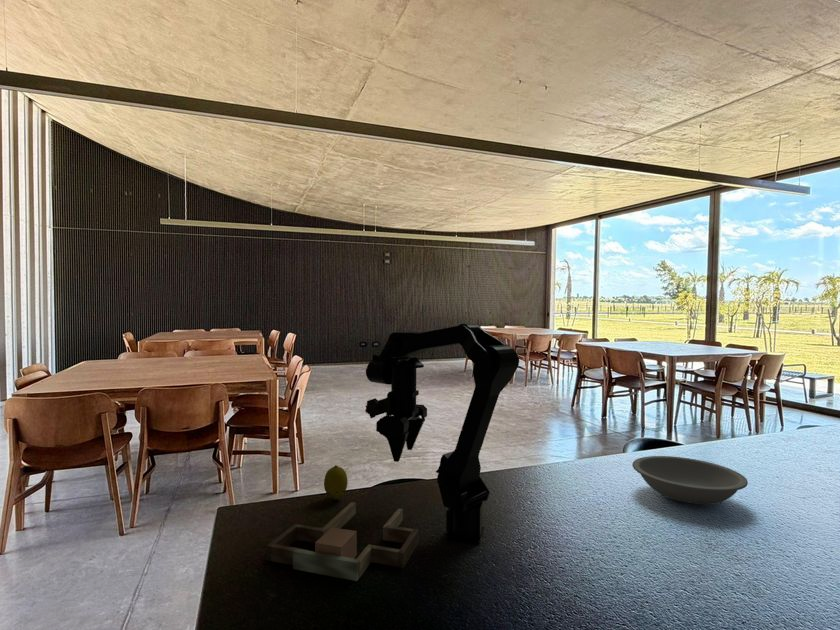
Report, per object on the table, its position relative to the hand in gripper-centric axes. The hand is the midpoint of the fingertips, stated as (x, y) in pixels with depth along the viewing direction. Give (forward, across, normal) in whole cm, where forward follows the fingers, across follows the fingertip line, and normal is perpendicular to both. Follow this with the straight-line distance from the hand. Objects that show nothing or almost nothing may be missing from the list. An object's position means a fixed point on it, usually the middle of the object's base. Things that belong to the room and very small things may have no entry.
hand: (403, 455), depth 101 cm
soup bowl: (+12, -27, +64) cm, 71 cm away
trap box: (+12, +17, -4) cm, 21 cm away
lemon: (+12, 0, -17) cm, 21 cm away
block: (+12, +25, -4) cm, 28 cm away
